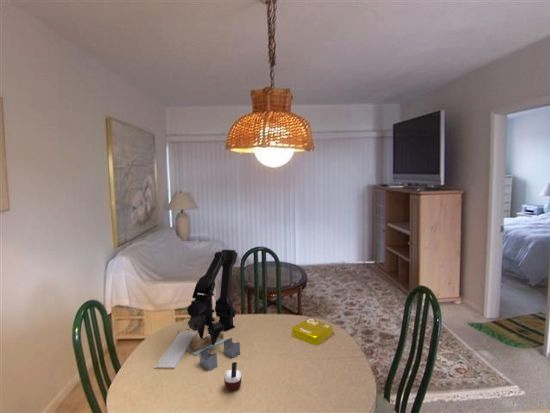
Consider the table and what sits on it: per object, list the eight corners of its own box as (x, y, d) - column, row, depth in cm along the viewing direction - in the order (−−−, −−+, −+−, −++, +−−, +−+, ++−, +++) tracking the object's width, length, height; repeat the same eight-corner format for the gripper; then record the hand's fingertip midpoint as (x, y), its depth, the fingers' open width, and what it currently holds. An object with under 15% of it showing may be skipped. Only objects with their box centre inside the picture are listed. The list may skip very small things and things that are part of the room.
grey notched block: (208, 361, 140) (208, 348, 140) (217, 366, 136) (216, 353, 135) (200, 365, 137) (199, 352, 137) (208, 371, 133) (208, 357, 133)
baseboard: (150, 370, 136) (174, 370, 135) (150, 363, 135) (174, 364, 135) (176, 334, 165) (196, 334, 165) (176, 328, 165) (196, 329, 165)
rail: (219, 337, 159) (219, 330, 159) (223, 339, 157) (223, 332, 157) (189, 350, 148) (189, 343, 148) (193, 352, 146) (193, 346, 146)
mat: (218, 336, 161) (218, 335, 161) (227, 341, 156) (227, 340, 156) (186, 350, 149) (186, 349, 149) (195, 356, 144) (195, 354, 144)
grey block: (231, 350, 149) (230, 337, 148) (240, 354, 145) (239, 342, 144) (224, 353, 146) (223, 341, 145) (232, 358, 142) (232, 346, 141)
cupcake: (227, 380, 127) (225, 349, 127) (244, 380, 127) (242, 349, 126) (221, 396, 118) (219, 363, 117) (239, 396, 117) (237, 362, 117)
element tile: (290, 336, 161) (290, 327, 160) (308, 325, 172) (308, 316, 171) (316, 346, 151) (316, 336, 150) (334, 334, 162) (334, 324, 161)
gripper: (178, 308, 152) (180, 341, 153) (202, 320, 139) (203, 356, 140) (200, 301, 160) (201, 332, 161) (224, 311, 147) (225, 346, 148)
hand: (207, 341), depth 153 cm, fingers open, 9 cm apart
